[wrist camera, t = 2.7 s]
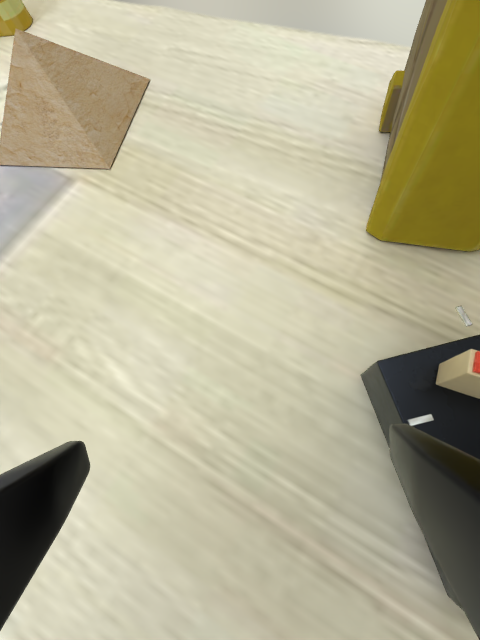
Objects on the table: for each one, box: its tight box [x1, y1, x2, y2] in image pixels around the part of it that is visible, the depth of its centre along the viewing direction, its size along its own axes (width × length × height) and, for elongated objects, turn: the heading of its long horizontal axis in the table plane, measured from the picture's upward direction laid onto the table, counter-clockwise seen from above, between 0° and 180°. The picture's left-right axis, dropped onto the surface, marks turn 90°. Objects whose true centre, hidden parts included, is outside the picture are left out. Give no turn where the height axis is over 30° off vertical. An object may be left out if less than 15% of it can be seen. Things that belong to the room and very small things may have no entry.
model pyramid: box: [0, 28, 150, 169], centre depth 36 cm, size 17×17×10 cm
